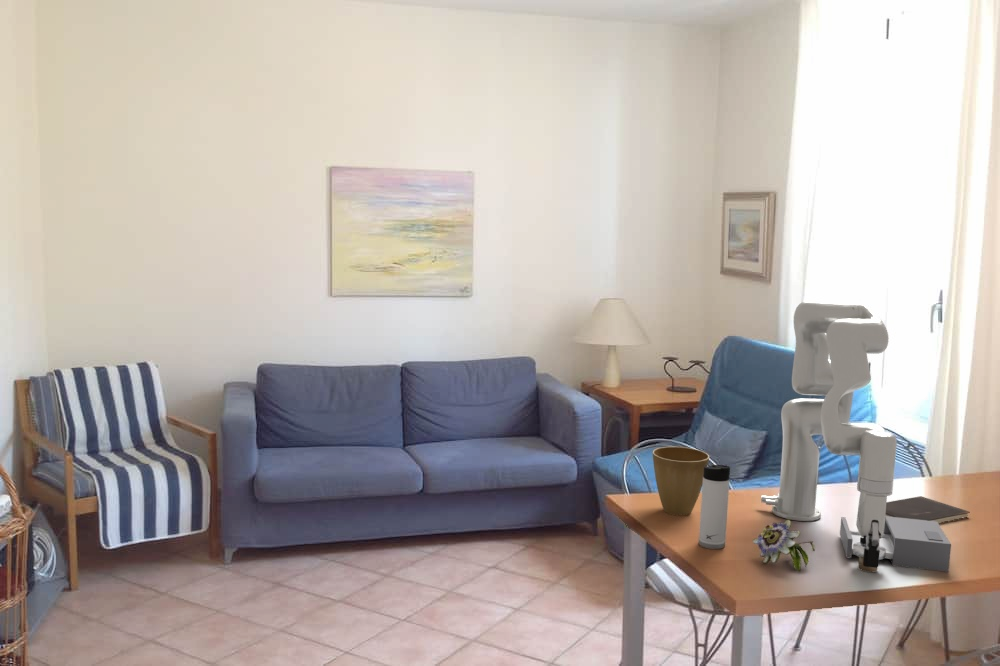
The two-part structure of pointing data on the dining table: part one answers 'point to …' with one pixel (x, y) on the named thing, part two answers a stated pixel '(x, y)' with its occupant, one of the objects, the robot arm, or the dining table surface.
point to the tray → (854, 537)
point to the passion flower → (781, 544)
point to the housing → (918, 543)
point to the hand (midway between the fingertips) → (868, 560)
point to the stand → (864, 568)
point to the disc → (859, 547)
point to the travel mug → (714, 506)
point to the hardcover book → (923, 510)
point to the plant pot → (679, 477)
